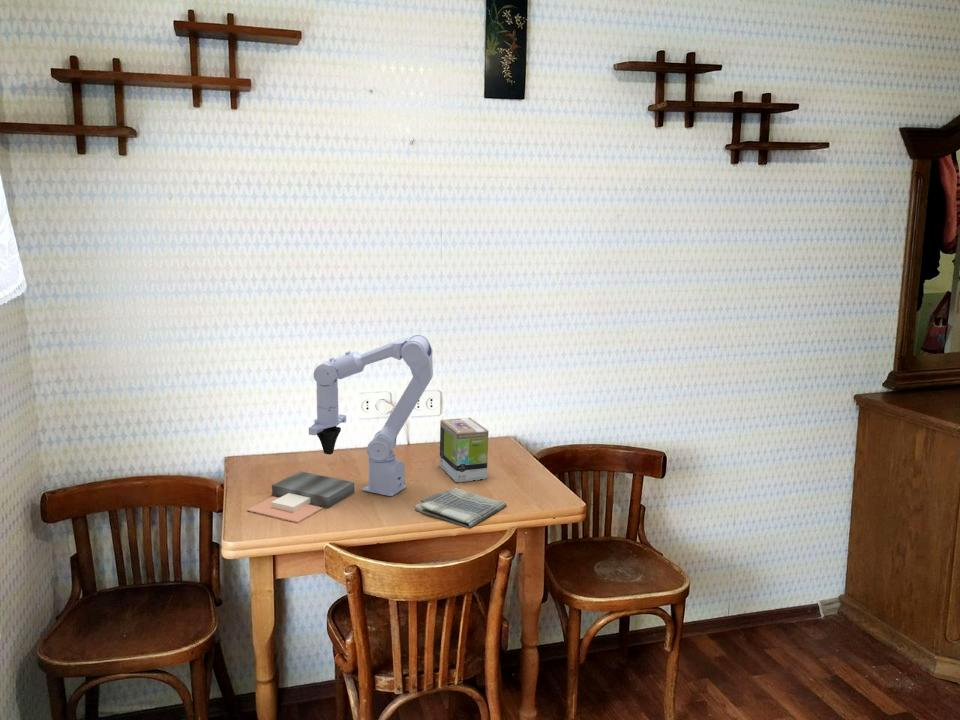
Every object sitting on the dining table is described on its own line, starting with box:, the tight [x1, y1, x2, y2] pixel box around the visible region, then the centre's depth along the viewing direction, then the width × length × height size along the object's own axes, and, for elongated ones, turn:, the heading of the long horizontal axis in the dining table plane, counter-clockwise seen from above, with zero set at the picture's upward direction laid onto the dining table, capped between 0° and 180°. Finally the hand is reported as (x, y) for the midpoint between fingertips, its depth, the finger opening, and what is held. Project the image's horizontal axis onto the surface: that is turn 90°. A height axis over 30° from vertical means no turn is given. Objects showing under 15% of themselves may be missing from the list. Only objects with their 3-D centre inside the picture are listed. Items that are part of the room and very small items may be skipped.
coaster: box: [271, 493, 311, 513], centre depth 198 cm, size 7×7×2 cm
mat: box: [246, 496, 324, 524], centre depth 196 cm, size 16×10×1 cm, turn 65°
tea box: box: [439, 417, 490, 483], centre depth 224 cm, size 15×10×15 cm, turn 22°
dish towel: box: [414, 487, 507, 529], centre depth 200 cm, size 19×18×3 cm
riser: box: [271, 471, 356, 509], centre depth 206 cm, size 18×12×3 cm, turn 65°
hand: (328, 453), depth 211 cm, fingers closed
